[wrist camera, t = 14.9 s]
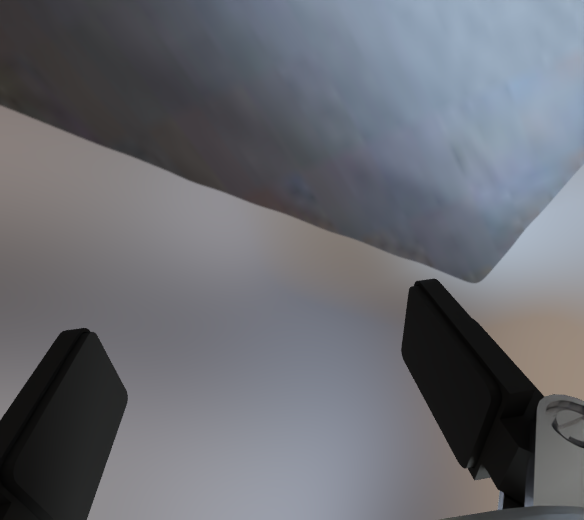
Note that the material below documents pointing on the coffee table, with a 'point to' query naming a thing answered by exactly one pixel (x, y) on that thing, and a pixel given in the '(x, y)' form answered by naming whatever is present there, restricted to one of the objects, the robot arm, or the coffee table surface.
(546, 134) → the coffee table surface
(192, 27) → the coffee table surface
